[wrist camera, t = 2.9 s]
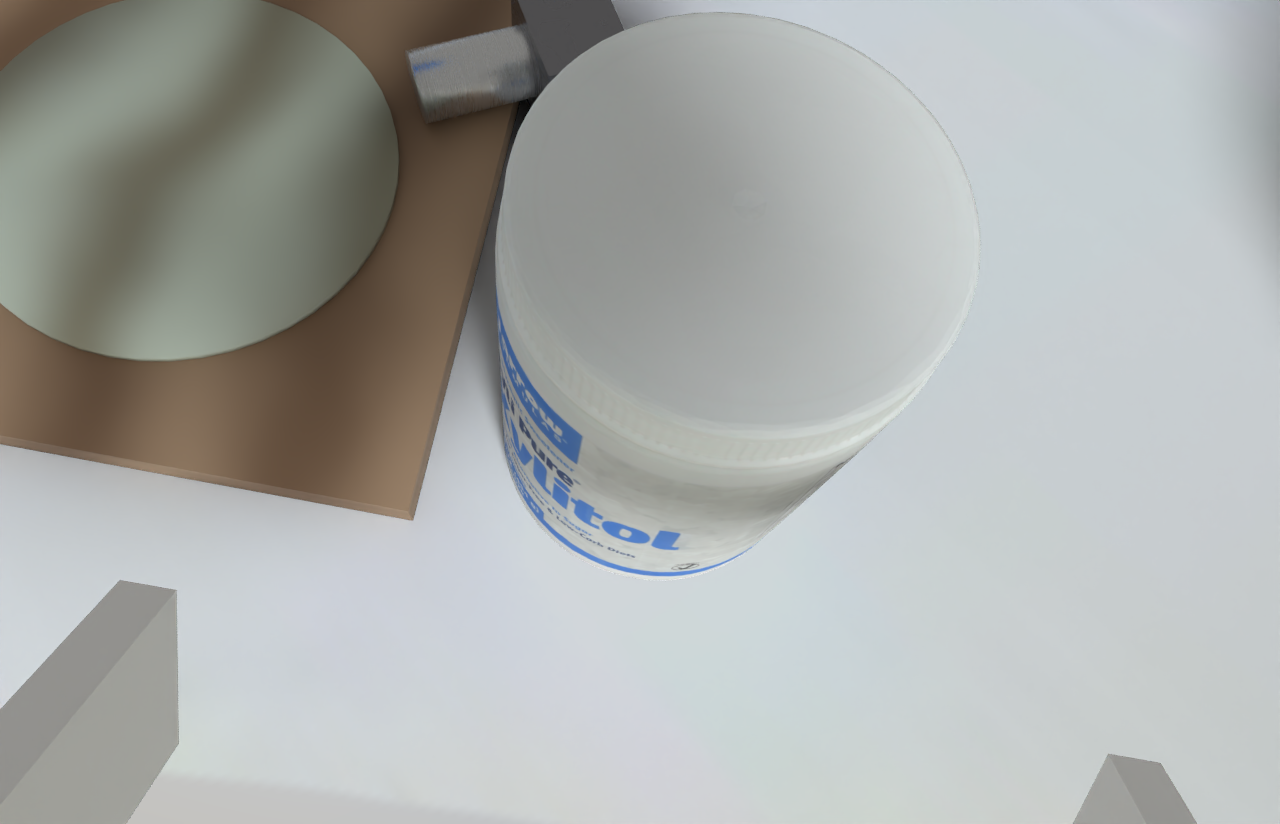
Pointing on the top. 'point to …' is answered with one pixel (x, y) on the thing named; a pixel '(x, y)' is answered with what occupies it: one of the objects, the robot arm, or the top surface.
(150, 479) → the top surface
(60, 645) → the robot arm
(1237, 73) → the top surface
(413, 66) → the shaft
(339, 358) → the board
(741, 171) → the supplement tub
